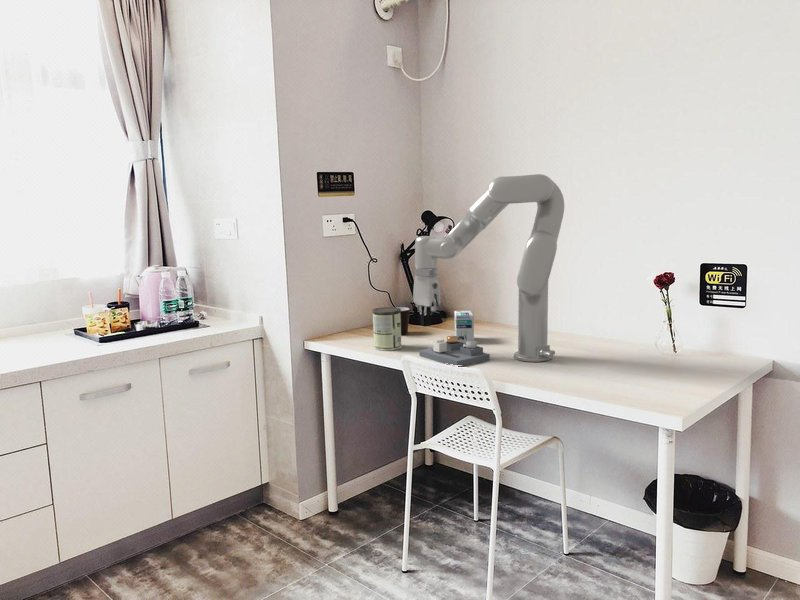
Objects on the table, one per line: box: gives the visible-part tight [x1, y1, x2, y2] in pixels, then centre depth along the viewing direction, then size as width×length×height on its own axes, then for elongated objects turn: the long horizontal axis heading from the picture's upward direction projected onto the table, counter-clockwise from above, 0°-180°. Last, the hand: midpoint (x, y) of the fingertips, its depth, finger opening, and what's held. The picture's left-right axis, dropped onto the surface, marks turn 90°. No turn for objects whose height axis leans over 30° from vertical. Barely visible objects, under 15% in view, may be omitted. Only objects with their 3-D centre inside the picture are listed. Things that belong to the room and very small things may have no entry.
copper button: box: [446, 335, 457, 344], centre depth 232 cm, size 4×4×3 cm
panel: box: [418, 340, 490, 367], centre depth 226 cm, size 20×14×4 cm
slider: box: [432, 338, 447, 352], centre depth 226 cm, size 3×3×4 cm
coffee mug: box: [395, 306, 411, 336], centre depth 266 cm, size 12×9×10 cm
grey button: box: [465, 339, 478, 349], centre depth 224 cm, size 4×4×3 cm
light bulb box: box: [453, 310, 475, 345], centre depth 252 cm, size 11×7×11 cm, turn 179°
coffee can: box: [371, 306, 403, 352], centre depth 244 cm, size 10×10×14 cm
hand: (425, 325), depth 231 cm, fingers closed
